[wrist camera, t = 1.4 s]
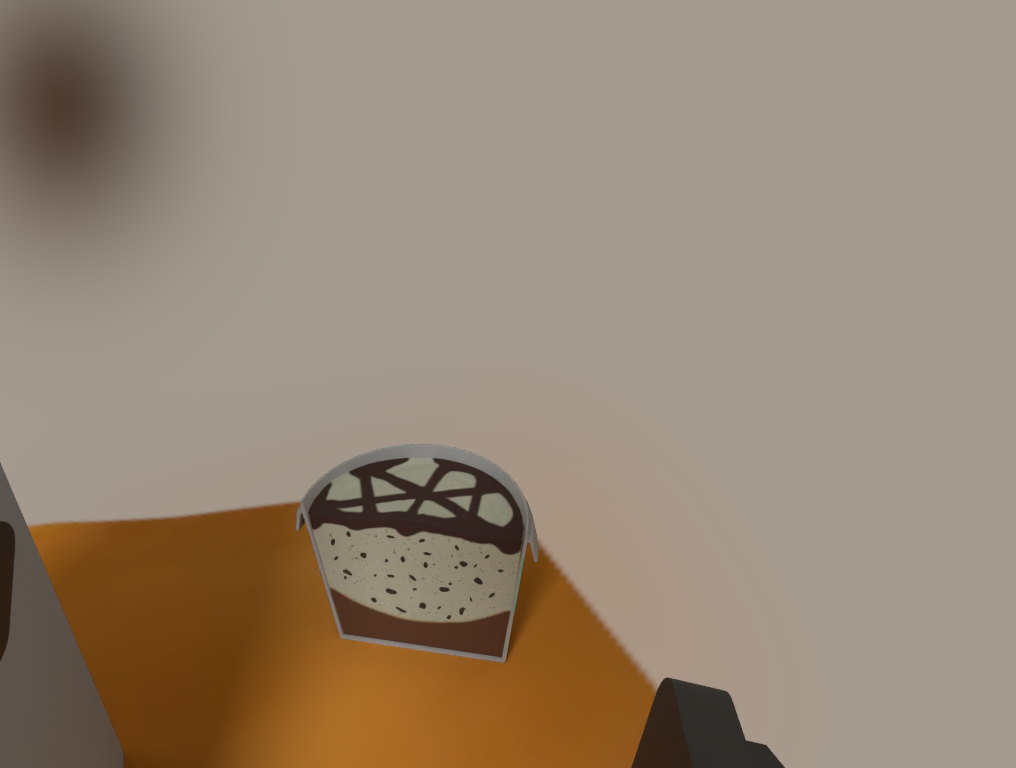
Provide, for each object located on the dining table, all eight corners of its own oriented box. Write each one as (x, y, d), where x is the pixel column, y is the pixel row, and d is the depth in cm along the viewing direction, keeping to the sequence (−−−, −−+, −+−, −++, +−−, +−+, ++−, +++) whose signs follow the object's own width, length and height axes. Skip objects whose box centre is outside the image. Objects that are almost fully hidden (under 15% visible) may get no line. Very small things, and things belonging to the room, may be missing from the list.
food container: (547, 582, 49) (554, 451, 43) (532, 667, 44) (539, 531, 38) (350, 555, 50) (333, 426, 45) (314, 634, 45) (290, 499, 40)
